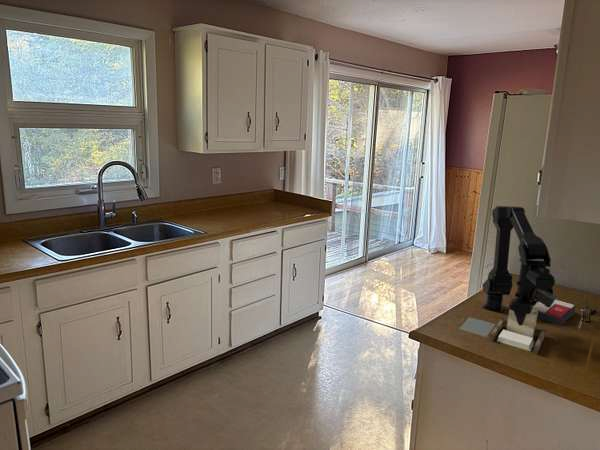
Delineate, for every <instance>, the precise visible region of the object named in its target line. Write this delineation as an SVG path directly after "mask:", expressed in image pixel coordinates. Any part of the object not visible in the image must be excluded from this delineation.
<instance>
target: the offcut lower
mask: <svg viewBox="0 0 600 450" xmlns="http://www.w3.org/2000/svg"><path fill="white" fill-rule="evenodd" d="M496 342H497V343H502V344H504V345H508V346H512V347H515V348H518V349H522V350H526V351H528V352H531V350H532V349H533V348H534V346H535V344H536V342H534V341H533V342H532V344H531V346H530V348H529V349H525V348H522V347H519V346H515V345H512V344H509V343H505V342H502V341H498V339H496Z"/></svg>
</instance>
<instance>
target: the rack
mask: <svg viewBox="0 0 600 450" xmlns="http://www.w3.org/2000/svg"><path fill="white" fill-rule="evenodd" d="M507 322H508V319H506V318H500V320H499V321H498V322H497V324H495V326H494V327H493V329H492V330H491V331H490V333H489V334H490V335H489V341H490V342H494V341H495V339H496V337H497V336H498V334H499V333H500V332H501V330H503V329H502V328H503V327H504V328H507ZM546 332H547V330H546V329H544V328H540V327H535V333H534V336H535V337H538V338H537V340H536V342H535V343H534V345H533V352H532V354H533V355H536V356H537V355H538V353H539V351H540V348H541V346H542V344H543V341H544V340H545V337H546V334H547V333H546Z"/></svg>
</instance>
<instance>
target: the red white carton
mask: <svg viewBox="0 0 600 450" xmlns="http://www.w3.org/2000/svg"><path fill="white" fill-rule="evenodd" d="M532 309H534V310H538V315H537V319H540V320H541V321H542V320H543V321H546V322H550V323H551V324H555V325H558V326H562V325H563V324H565V322H567V321H568V320H569V319H570V318H572V317H573V316H574V315H575V313H576V305H574V304H572V303H569V302H568V303H567V302H566V301H561V300H558V299H555V301H554V302H553V304H552V305H551V307H546V306H545V305H544V304H542V303H540V302H539V301H537V303H536V304H535V305H533V307H532Z"/></svg>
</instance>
